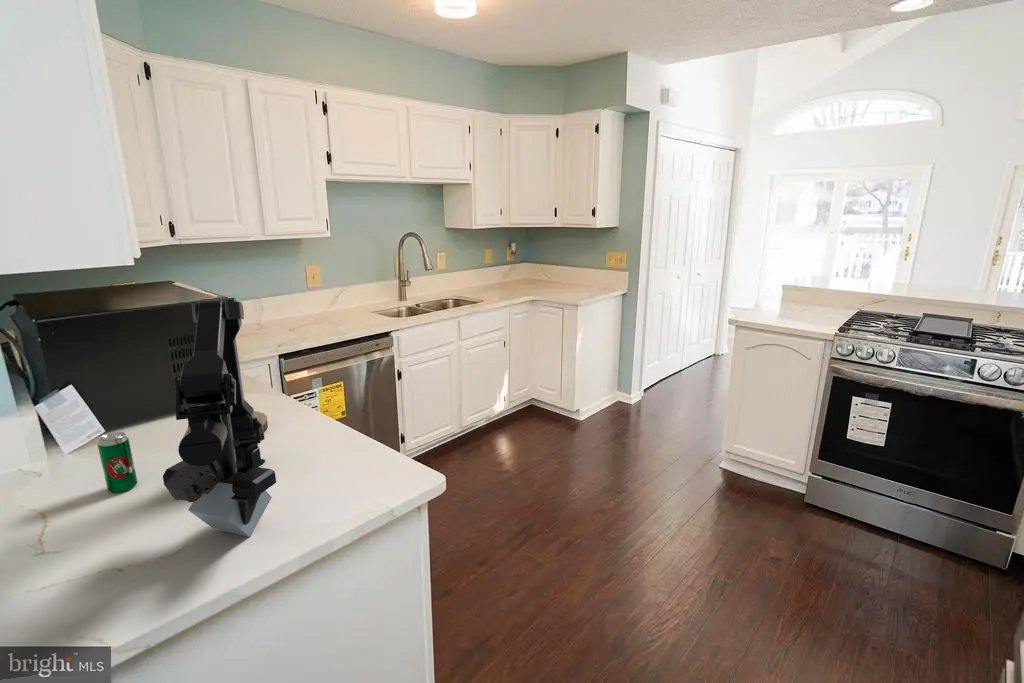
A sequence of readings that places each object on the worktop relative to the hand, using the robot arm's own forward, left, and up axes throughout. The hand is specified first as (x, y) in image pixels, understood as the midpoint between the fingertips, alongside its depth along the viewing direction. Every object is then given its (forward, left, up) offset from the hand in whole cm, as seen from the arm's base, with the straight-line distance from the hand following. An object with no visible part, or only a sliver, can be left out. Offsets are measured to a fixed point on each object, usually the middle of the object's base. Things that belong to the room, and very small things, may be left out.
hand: (226, 520), depth 89 cm
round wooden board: (-32, +37, -4) cm, 50 cm away
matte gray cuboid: (-1, +4, -1) cm, 5 cm away
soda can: (-34, +8, -4) cm, 36 cm away
